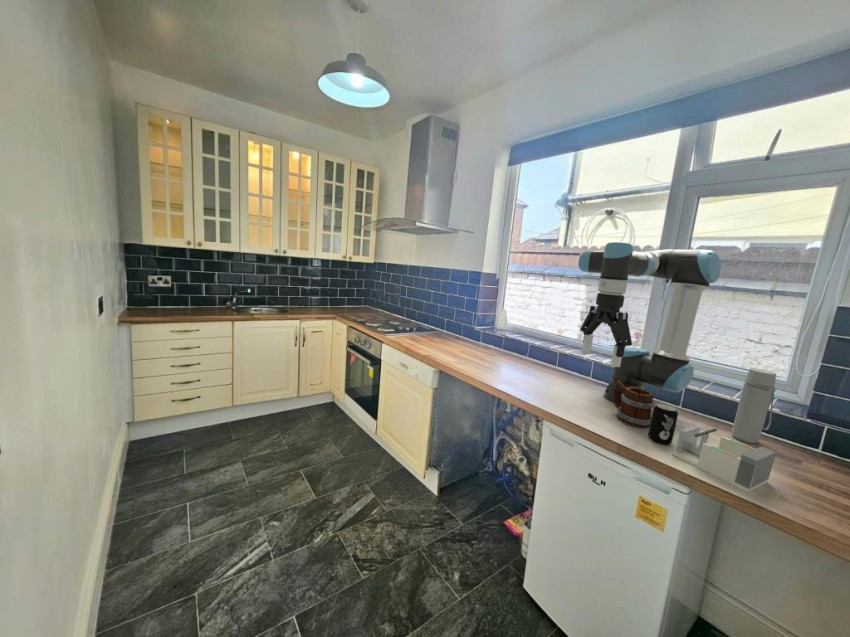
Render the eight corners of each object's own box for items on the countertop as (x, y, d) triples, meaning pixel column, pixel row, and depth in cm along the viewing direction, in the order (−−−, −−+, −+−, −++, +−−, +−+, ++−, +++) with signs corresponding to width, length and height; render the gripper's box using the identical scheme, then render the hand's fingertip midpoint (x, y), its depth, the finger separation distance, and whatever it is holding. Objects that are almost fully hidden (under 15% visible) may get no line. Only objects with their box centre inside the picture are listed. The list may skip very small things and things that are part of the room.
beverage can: (650, 442, 110) (657, 408, 108) (645, 433, 116) (652, 400, 114) (674, 447, 108) (682, 412, 106) (667, 438, 114) (675, 405, 112)
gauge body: (692, 448, 109) (699, 422, 107) (767, 482, 93) (776, 452, 92) (672, 455, 103) (678, 427, 102) (748, 492, 88) (756, 460, 86)
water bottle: (736, 441, 116) (754, 371, 112) (726, 431, 124) (742, 365, 119) (771, 448, 113) (790, 377, 109) (758, 438, 120) (776, 370, 116)
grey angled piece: (693, 444, 109) (699, 422, 107) (720, 456, 102) (726, 433, 101) (673, 451, 103) (678, 427, 102) (700, 464, 97) (706, 439, 96)
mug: (642, 431, 117) (642, 388, 117) (604, 419, 130) (604, 381, 130) (661, 426, 122) (662, 385, 122) (623, 416, 135) (623, 378, 135)
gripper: (575, 288, 116) (566, 348, 119) (631, 297, 92) (618, 372, 95) (594, 290, 117) (585, 349, 121) (655, 299, 93) (641, 373, 97)
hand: (599, 359), depth 108 cm, fingers open, 13 cm apart
